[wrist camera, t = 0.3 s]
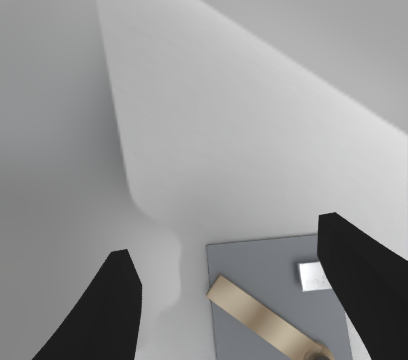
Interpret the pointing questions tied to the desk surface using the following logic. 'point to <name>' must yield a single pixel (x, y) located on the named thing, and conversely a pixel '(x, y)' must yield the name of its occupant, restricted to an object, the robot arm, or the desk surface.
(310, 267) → the keeper
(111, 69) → the desk surface
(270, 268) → the base plate
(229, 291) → the tan latch lever
